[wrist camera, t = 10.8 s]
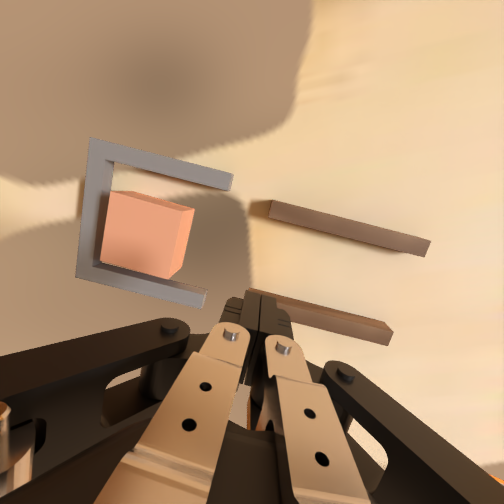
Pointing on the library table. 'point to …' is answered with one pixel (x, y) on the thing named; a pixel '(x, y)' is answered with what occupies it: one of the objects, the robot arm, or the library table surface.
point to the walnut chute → (354, 230)
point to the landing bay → (96, 213)
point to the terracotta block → (146, 233)
